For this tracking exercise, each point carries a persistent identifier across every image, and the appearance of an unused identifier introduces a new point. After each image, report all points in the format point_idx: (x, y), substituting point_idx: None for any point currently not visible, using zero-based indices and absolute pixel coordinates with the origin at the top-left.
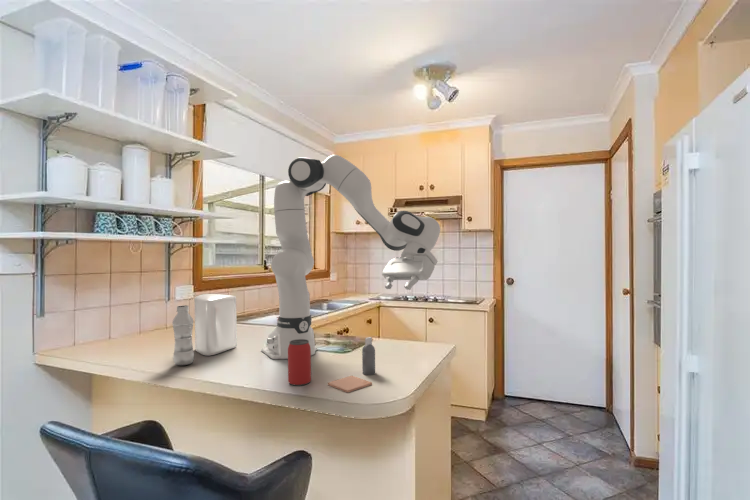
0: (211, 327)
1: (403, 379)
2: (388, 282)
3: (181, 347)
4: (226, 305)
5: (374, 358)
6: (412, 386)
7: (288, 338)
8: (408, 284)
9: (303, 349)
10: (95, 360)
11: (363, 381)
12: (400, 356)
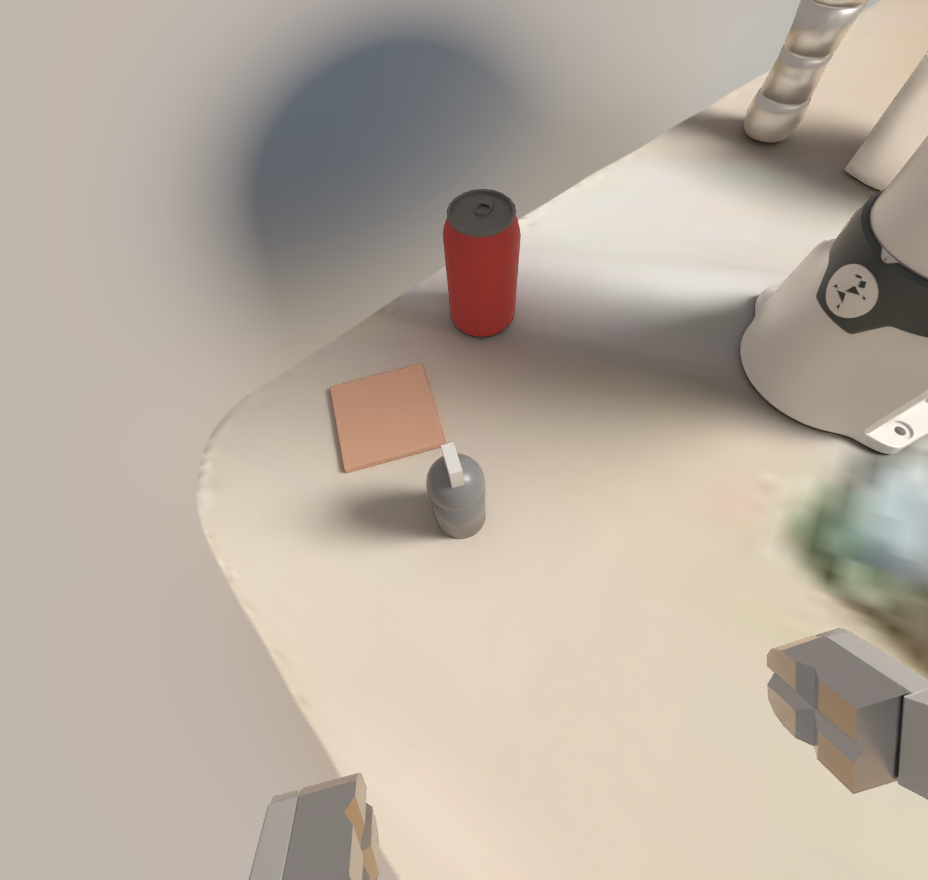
0: (923, 74)
1: (324, 594)
2: (881, 696)
3: (769, 74)
4: None
5: (435, 510)
6: (246, 583)
7: (801, 279)
8: (257, 847)
9: (443, 232)
10: (854, 26)
11: (370, 451)
12: (643, 792)
